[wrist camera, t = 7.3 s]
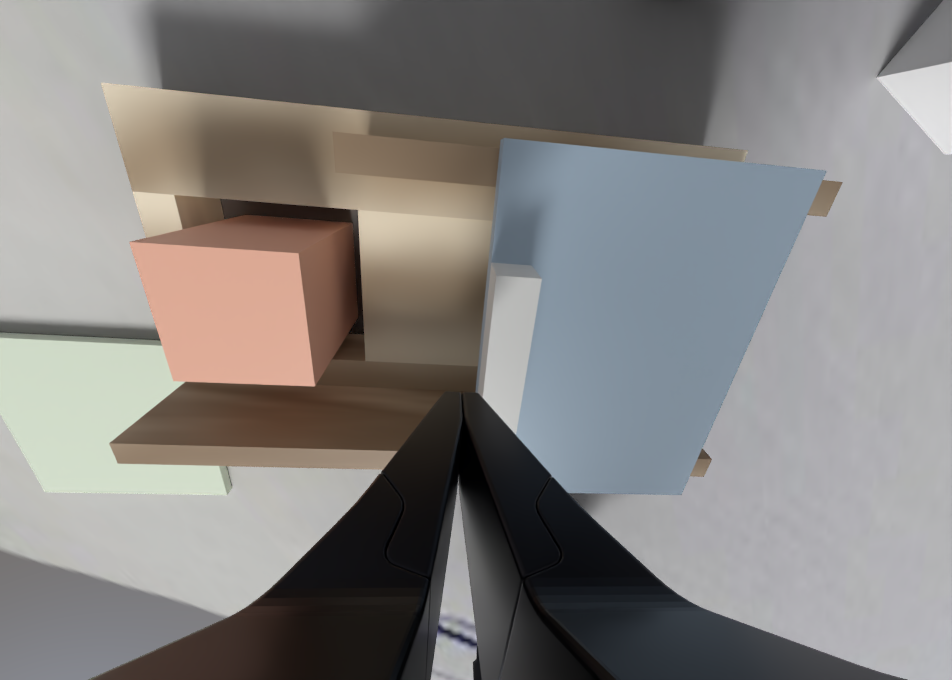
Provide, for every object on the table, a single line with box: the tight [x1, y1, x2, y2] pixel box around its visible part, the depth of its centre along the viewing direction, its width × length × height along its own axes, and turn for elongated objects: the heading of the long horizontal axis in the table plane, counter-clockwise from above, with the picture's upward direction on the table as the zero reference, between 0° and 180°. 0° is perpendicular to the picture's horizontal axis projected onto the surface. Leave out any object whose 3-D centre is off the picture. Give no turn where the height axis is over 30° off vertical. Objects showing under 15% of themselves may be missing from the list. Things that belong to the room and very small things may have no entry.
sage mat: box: [0, 332, 232, 495], centre depth 22 cm, size 11×11×1 cm
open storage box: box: [101, 83, 842, 477], centre depth 16 cm, size 14×24×8 cm, turn 85°
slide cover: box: [475, 138, 826, 495], centre depth 12 cm, size 12×9×2 cm
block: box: [130, 215, 358, 386], centre depth 16 cm, size 5×5×7 cm
